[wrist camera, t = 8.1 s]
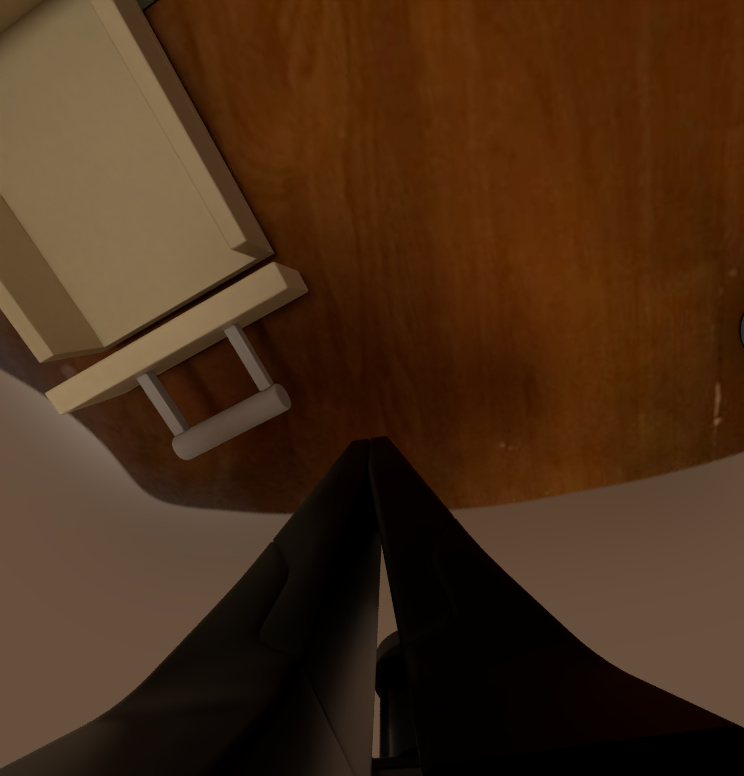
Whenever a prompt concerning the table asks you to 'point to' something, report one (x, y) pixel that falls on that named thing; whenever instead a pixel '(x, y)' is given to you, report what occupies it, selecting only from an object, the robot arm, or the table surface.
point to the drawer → (122, 215)
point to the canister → (742, 330)
